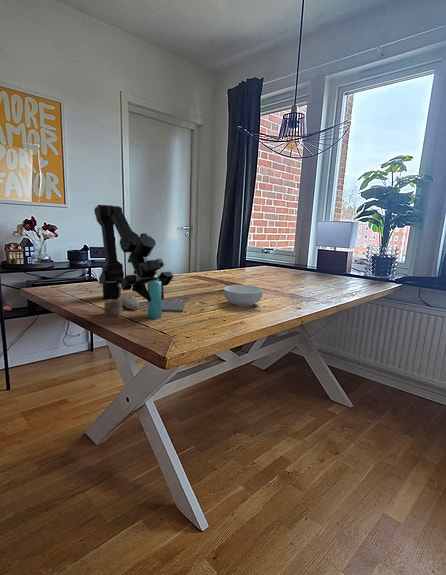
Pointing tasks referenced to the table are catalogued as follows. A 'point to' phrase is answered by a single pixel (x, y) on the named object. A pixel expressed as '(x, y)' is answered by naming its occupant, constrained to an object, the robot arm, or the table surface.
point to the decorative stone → (130, 302)
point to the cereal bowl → (243, 294)
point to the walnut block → (113, 307)
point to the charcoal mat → (172, 306)
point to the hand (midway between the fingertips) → (156, 299)
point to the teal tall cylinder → (154, 299)
